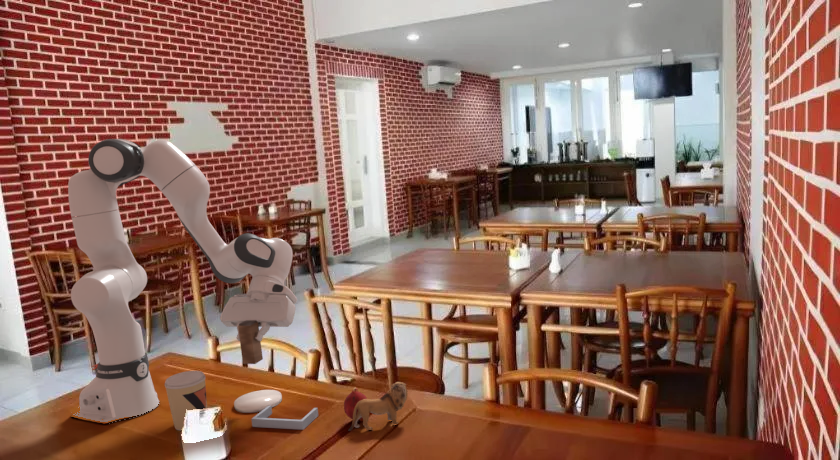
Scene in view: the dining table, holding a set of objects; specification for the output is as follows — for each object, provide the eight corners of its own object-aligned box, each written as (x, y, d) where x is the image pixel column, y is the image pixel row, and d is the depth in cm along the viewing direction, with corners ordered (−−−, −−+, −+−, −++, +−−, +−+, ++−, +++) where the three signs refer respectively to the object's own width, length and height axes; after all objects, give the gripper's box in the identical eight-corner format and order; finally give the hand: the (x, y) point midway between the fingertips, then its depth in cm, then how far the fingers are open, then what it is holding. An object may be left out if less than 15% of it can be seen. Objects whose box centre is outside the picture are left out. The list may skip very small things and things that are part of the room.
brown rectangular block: (243, 363, 162) (237, 324, 161) (250, 359, 166) (245, 320, 164) (255, 364, 161) (249, 324, 160) (262, 359, 164) (257, 320, 163)
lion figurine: (405, 413, 149) (402, 377, 148) (414, 422, 144) (410, 384, 143) (345, 429, 144) (341, 391, 143) (352, 438, 139) (347, 399, 138)
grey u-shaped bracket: (252, 426, 150) (251, 418, 150) (269, 413, 157) (268, 405, 157) (303, 429, 146) (302, 421, 146) (318, 415, 153) (317, 407, 153)
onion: (366, 426, 144) (362, 393, 143) (342, 426, 145) (338, 393, 144) (373, 415, 150) (369, 383, 149) (350, 415, 151) (346, 383, 150)
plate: (225, 411, 161) (224, 407, 161) (251, 393, 172) (250, 389, 172) (266, 413, 157) (265, 409, 157) (290, 394, 168) (289, 390, 168)
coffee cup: (194, 433, 149) (187, 384, 148) (162, 431, 152) (155, 383, 151) (219, 416, 158) (212, 370, 157) (188, 414, 161) (181, 369, 160)
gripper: (225, 288, 171) (207, 334, 163) (292, 286, 164) (277, 334, 156) (237, 300, 176) (220, 345, 168) (302, 299, 169) (288, 346, 161)
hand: (248, 340), depth 162 cm, fingers closed on brown rectangular block, 4 cm apart
